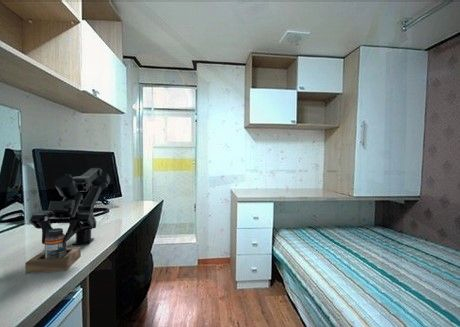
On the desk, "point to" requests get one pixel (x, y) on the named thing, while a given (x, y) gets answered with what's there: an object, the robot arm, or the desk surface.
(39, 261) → the walnut pocket block
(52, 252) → the supplement bottle
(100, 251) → the desk surface
